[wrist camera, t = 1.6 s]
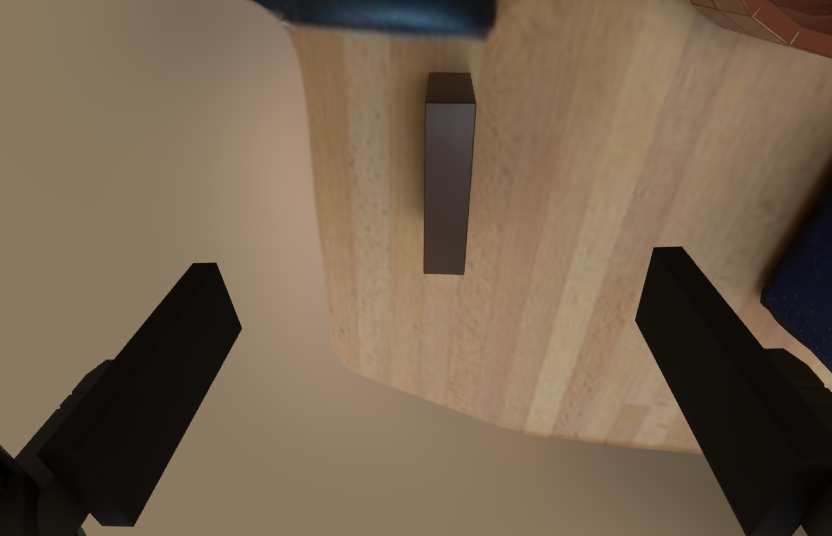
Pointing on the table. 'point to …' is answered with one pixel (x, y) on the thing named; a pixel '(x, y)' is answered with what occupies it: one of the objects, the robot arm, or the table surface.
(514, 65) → the table surface
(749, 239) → the table surface
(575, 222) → the table surface
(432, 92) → the dark brown brick
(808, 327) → the blue rectangular block
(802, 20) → the bowl
